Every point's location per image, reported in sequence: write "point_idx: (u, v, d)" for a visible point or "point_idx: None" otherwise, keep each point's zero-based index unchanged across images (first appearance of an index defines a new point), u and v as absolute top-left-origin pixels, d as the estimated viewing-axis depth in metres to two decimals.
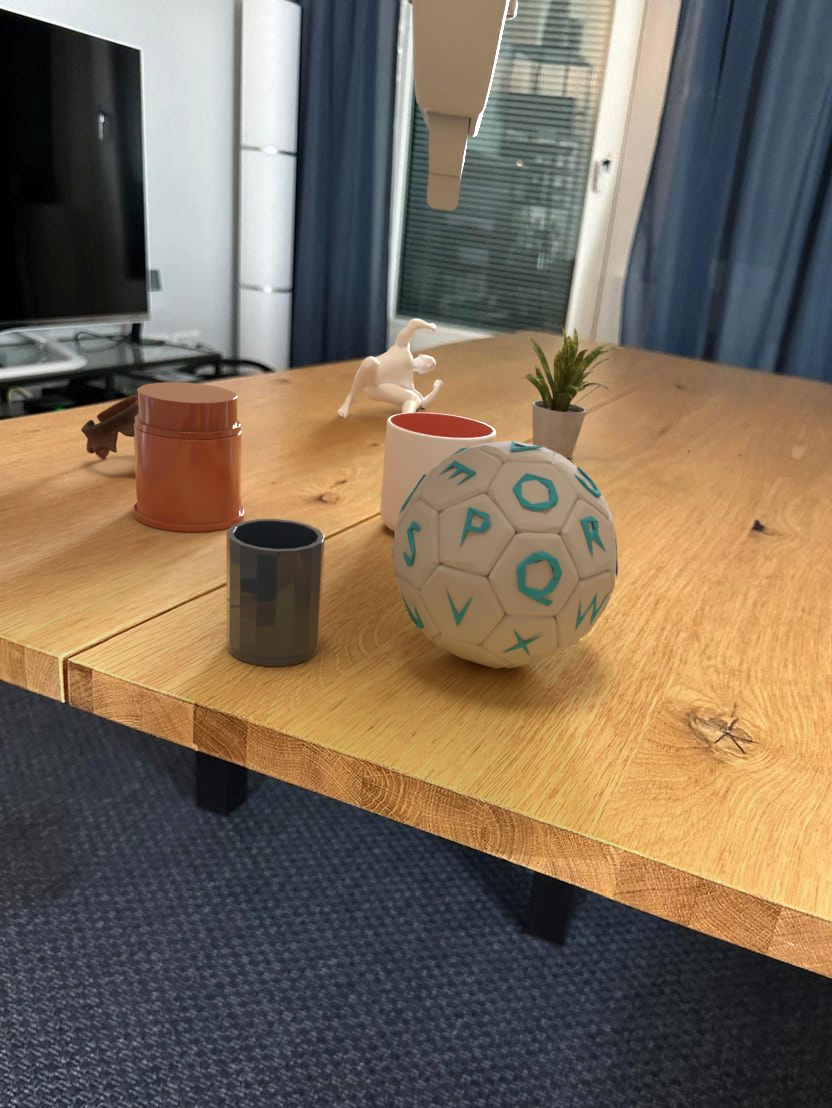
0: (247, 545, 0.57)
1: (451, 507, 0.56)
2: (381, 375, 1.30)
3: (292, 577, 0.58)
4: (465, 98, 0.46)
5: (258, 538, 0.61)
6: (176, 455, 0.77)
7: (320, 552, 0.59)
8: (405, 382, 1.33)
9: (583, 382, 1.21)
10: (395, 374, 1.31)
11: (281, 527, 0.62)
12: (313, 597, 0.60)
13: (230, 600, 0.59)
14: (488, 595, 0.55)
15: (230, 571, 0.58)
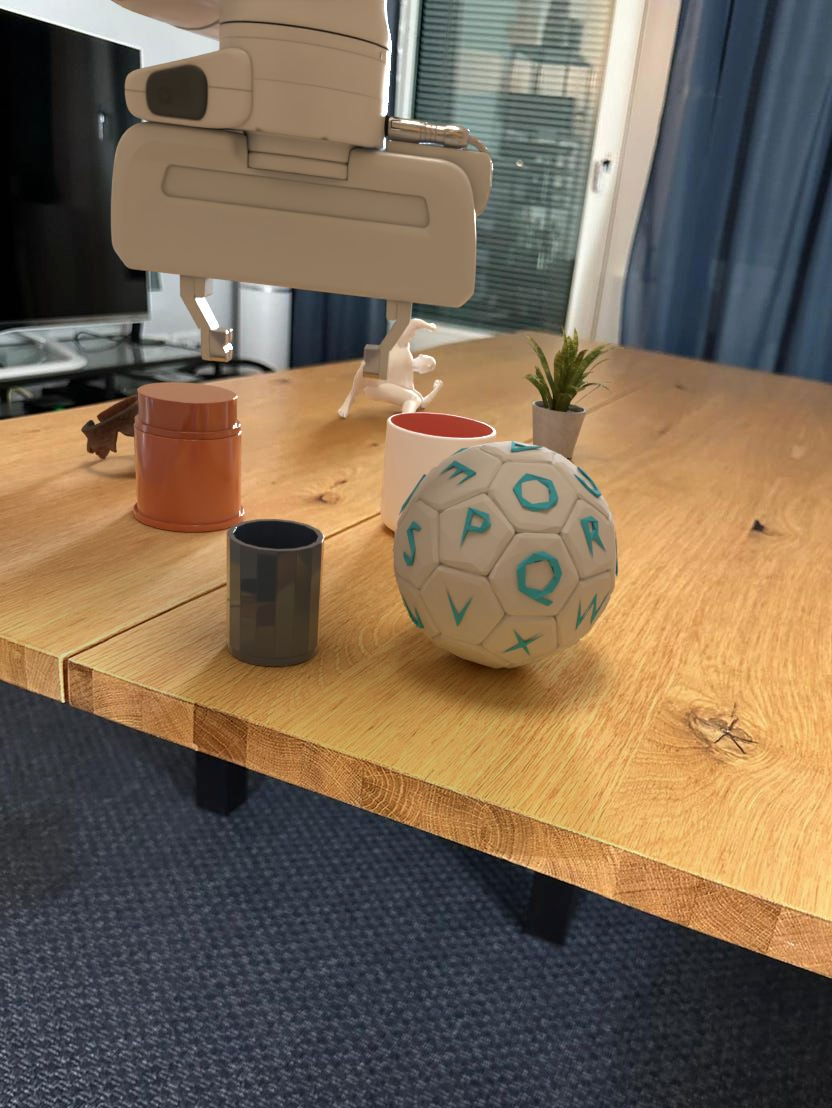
0: (247, 545, 0.57)
1: (451, 507, 0.56)
2: None
3: (292, 577, 0.58)
4: None
5: (258, 538, 0.61)
6: (176, 455, 0.77)
7: (320, 552, 0.59)
8: (405, 382, 1.33)
9: (583, 382, 1.21)
10: (395, 374, 1.31)
11: (281, 527, 0.62)
12: (313, 597, 0.60)
13: (230, 600, 0.59)
14: (488, 595, 0.55)
15: (230, 571, 0.58)
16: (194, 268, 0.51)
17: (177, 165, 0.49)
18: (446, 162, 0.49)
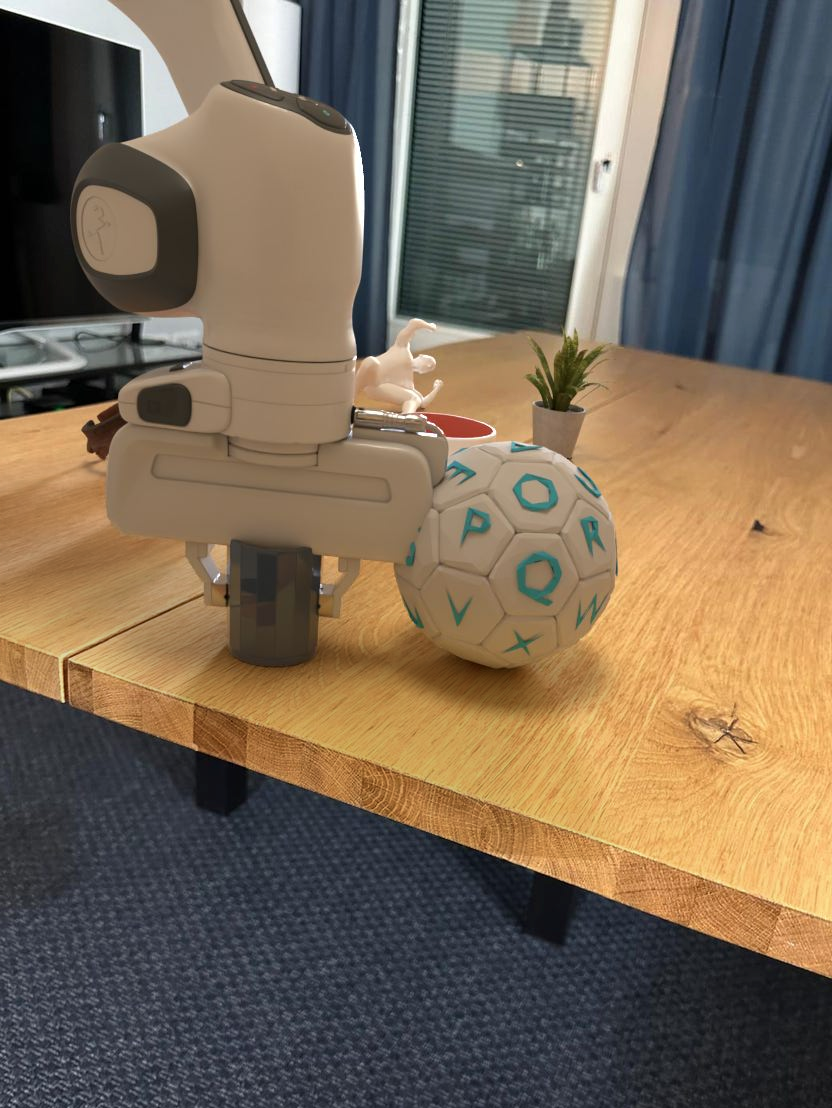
0: (247, 545, 0.57)
1: (451, 507, 0.56)
2: (381, 375, 1.30)
3: (292, 577, 0.58)
4: None
5: None
6: None
7: None
8: (405, 382, 1.33)
9: (583, 382, 1.21)
10: (395, 374, 1.31)
11: None
12: (313, 597, 0.60)
13: (230, 600, 0.59)
14: (488, 595, 0.55)
15: (230, 571, 0.58)
16: (180, 535, 0.57)
17: (165, 453, 0.55)
18: (405, 450, 0.55)
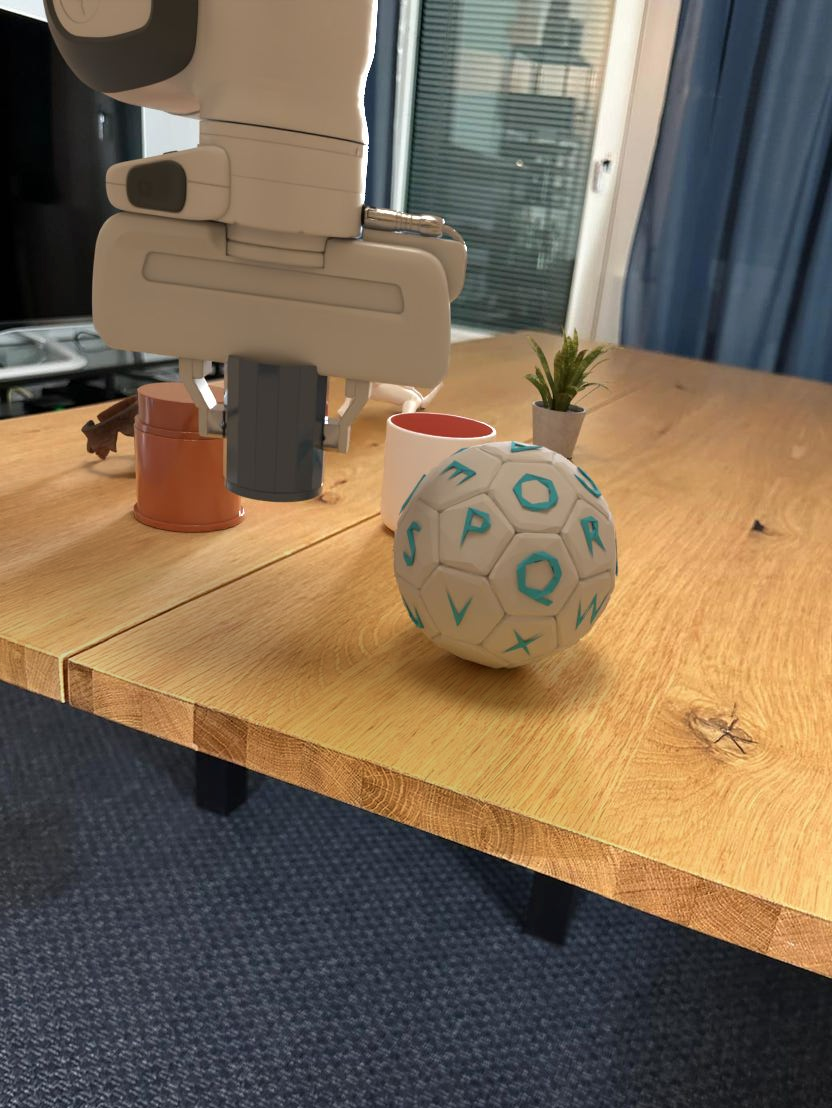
0: (247, 359, 0.52)
1: (451, 507, 0.56)
2: None
3: (295, 398, 0.53)
4: None
5: None
6: (176, 455, 0.77)
7: None
8: None
9: (583, 382, 1.21)
10: None
11: None
12: (318, 426, 0.55)
13: (227, 427, 0.54)
14: (488, 595, 0.55)
15: (228, 393, 0.53)
16: (173, 349, 0.52)
17: (157, 252, 0.50)
18: (421, 252, 0.51)
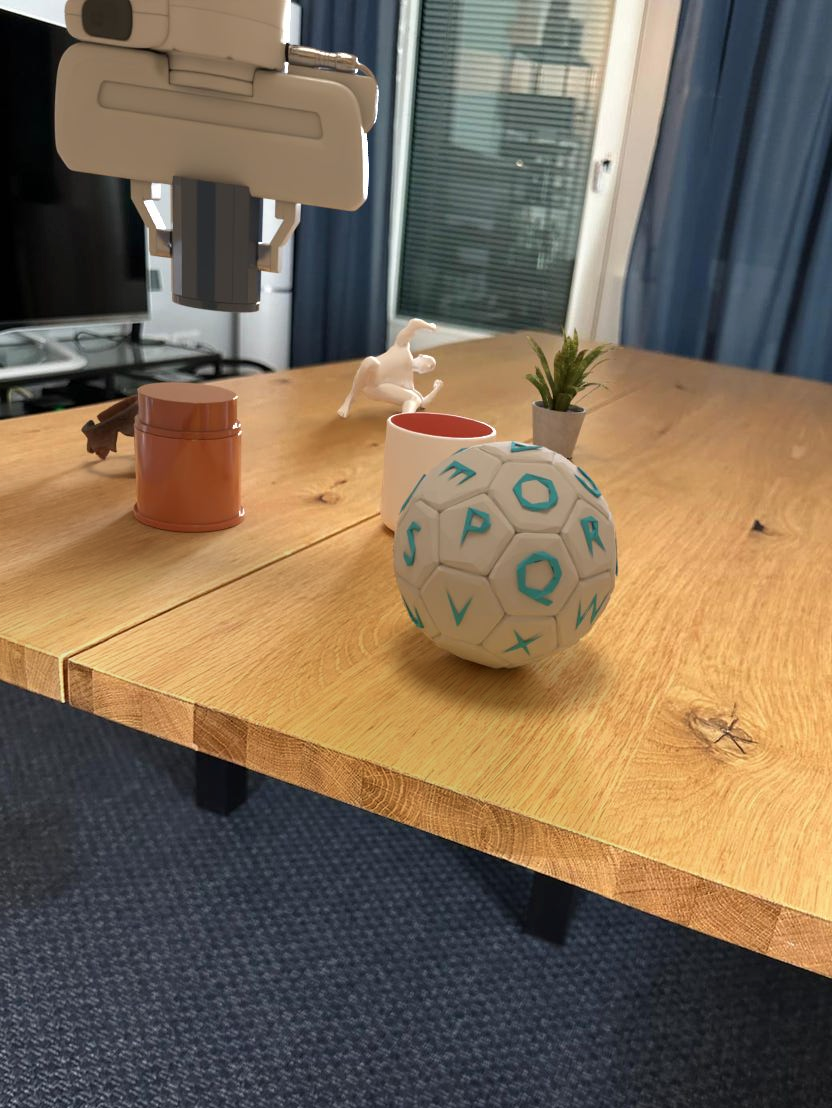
0: None
1: (451, 507, 0.56)
2: (381, 375, 1.30)
3: (230, 214, 0.61)
4: None
5: None
6: (176, 455, 0.77)
7: (258, 198, 0.63)
8: (405, 382, 1.33)
9: (583, 382, 1.21)
10: (395, 374, 1.31)
11: None
12: (252, 244, 0.63)
13: (173, 243, 0.63)
14: (488, 595, 0.55)
15: (173, 211, 0.62)
16: (125, 170, 0.61)
17: (110, 81, 0.59)
18: (336, 83, 0.59)
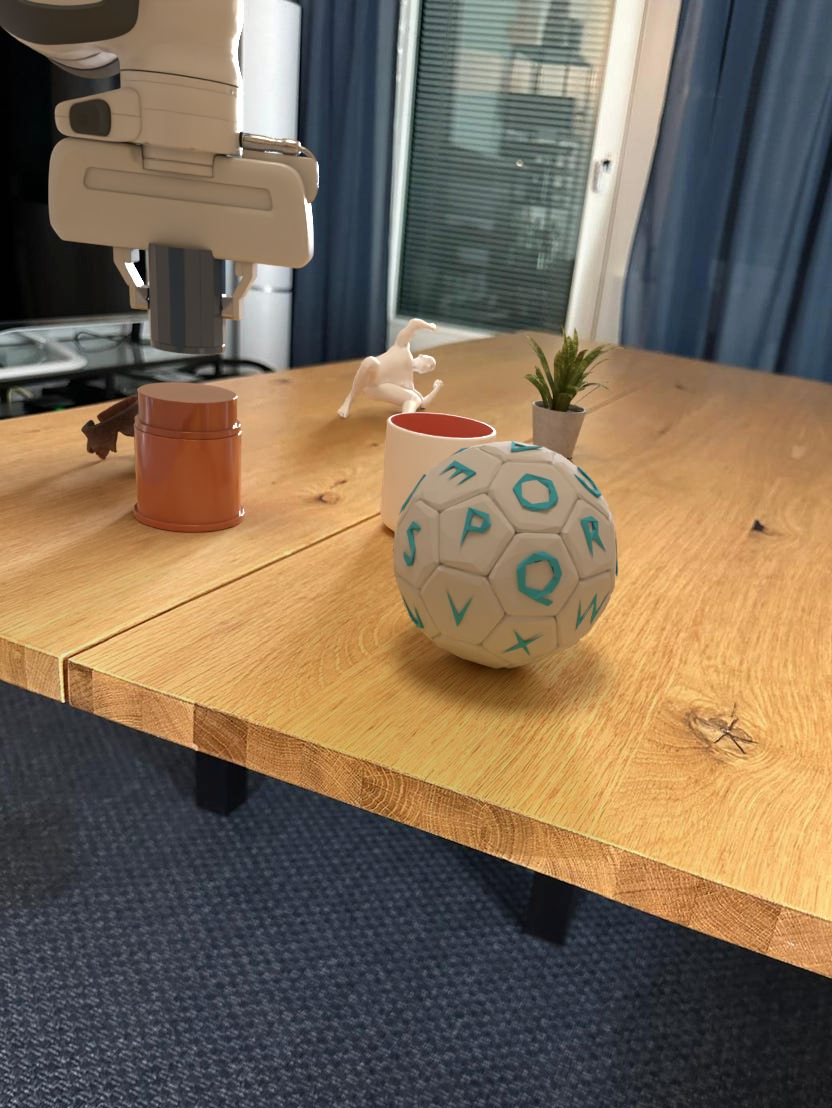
0: (160, 245, 0.72)
1: (451, 507, 0.56)
2: (381, 375, 1.30)
3: (197, 273, 0.73)
4: None
5: None
6: (176, 455, 0.77)
7: (221, 259, 0.74)
8: (405, 382, 1.33)
9: (583, 382, 1.21)
10: (395, 374, 1.31)
11: None
12: (216, 297, 0.75)
13: (150, 298, 0.75)
14: (488, 595, 0.55)
15: (149, 272, 0.74)
16: (108, 239, 0.73)
17: (94, 167, 0.71)
18: (282, 165, 0.71)
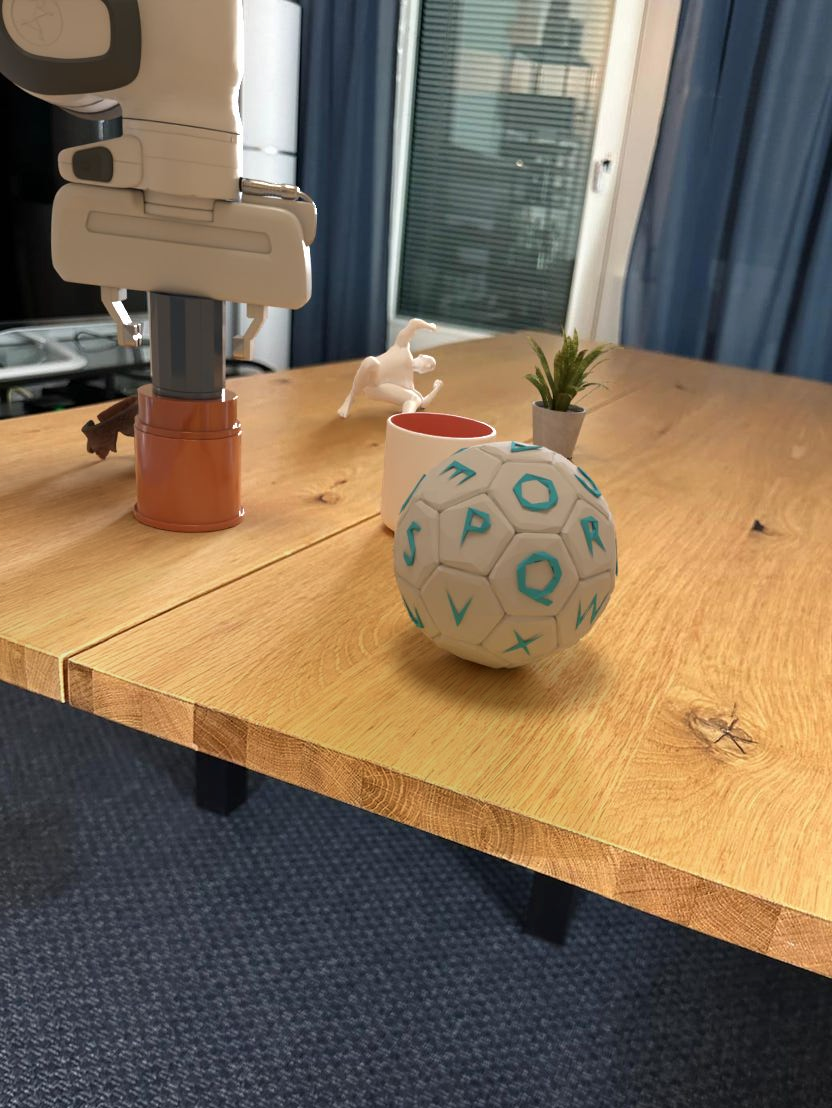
0: (162, 294, 0.74)
1: (451, 507, 0.56)
2: (381, 375, 1.30)
3: (198, 322, 0.75)
4: None
5: None
6: (176, 455, 0.77)
7: (221, 307, 0.76)
8: (405, 382, 1.33)
9: (583, 382, 1.21)
10: (395, 374, 1.31)
11: None
12: (216, 344, 0.77)
13: (151, 345, 0.76)
14: (488, 595, 0.55)
15: (151, 320, 0.75)
16: (110, 281, 0.74)
17: (96, 211, 0.72)
18: (281, 210, 0.72)
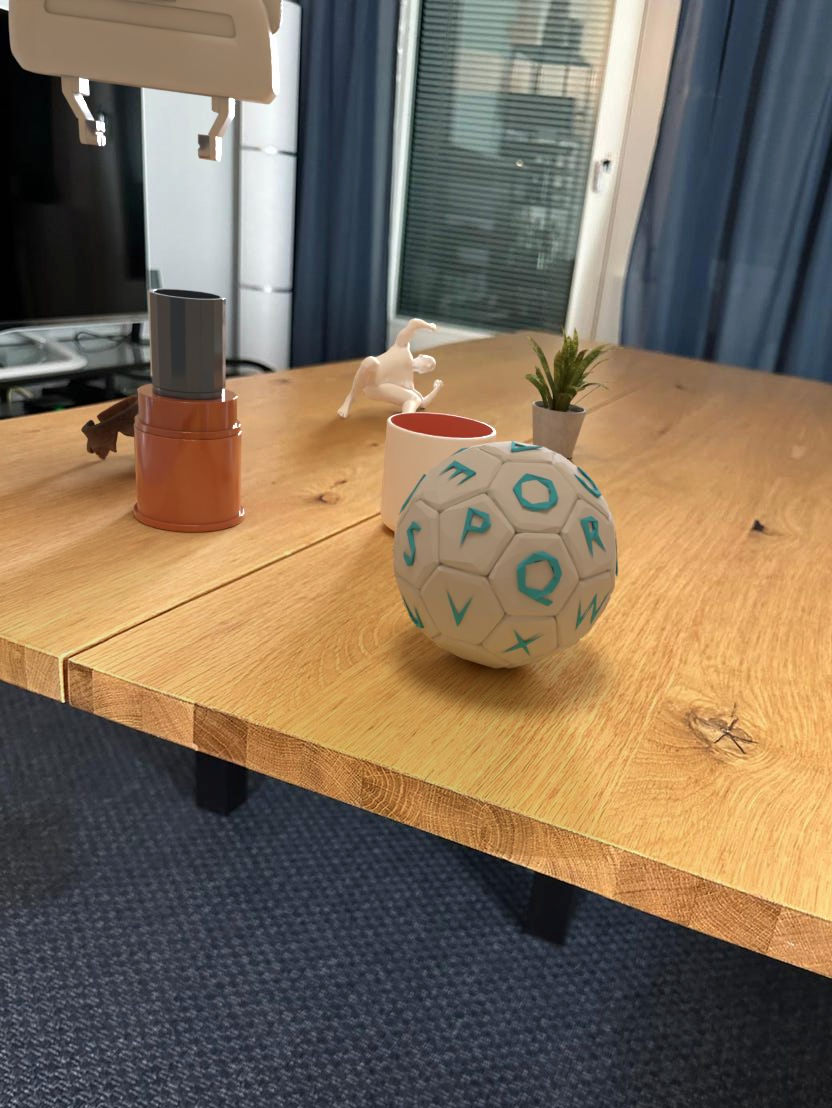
0: (162, 294, 0.74)
1: (451, 507, 0.56)
2: (381, 375, 1.30)
3: (198, 322, 0.75)
4: None
5: None
6: (176, 455, 0.77)
7: (221, 307, 0.76)
8: (405, 382, 1.33)
9: (583, 382, 1.21)
10: (395, 374, 1.31)
11: (194, 296, 0.79)
12: (216, 344, 0.77)
13: (151, 345, 0.76)
14: (488, 595, 0.55)
15: (151, 320, 0.75)
16: (70, 68, 0.72)
17: None
18: None
